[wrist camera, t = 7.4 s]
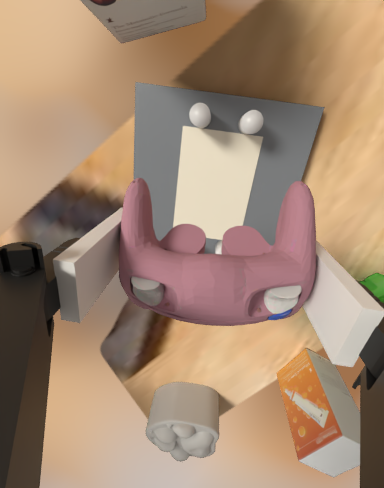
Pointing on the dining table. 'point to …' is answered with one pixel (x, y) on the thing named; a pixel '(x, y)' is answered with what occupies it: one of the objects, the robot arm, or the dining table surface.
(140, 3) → the supplement box
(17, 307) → the robot arm
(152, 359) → the dining table surface
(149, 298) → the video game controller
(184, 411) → the lumpy-topped squat cylinder
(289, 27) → the dining table surface
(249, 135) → the docking tray
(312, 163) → the dining table surface
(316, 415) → the small box
